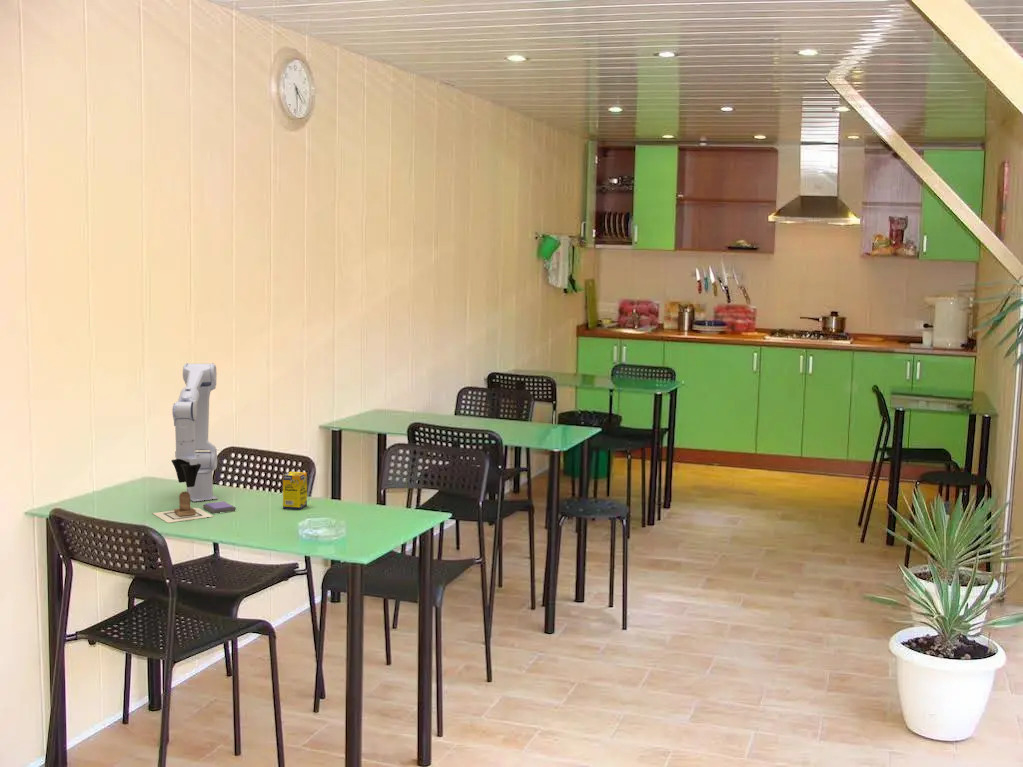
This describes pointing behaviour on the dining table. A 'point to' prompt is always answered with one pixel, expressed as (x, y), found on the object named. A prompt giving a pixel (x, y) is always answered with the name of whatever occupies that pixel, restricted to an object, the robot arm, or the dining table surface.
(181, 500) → the stamp
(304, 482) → the supplement box
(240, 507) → the dining table surface
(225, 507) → the ink pad
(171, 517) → the paper sheet
